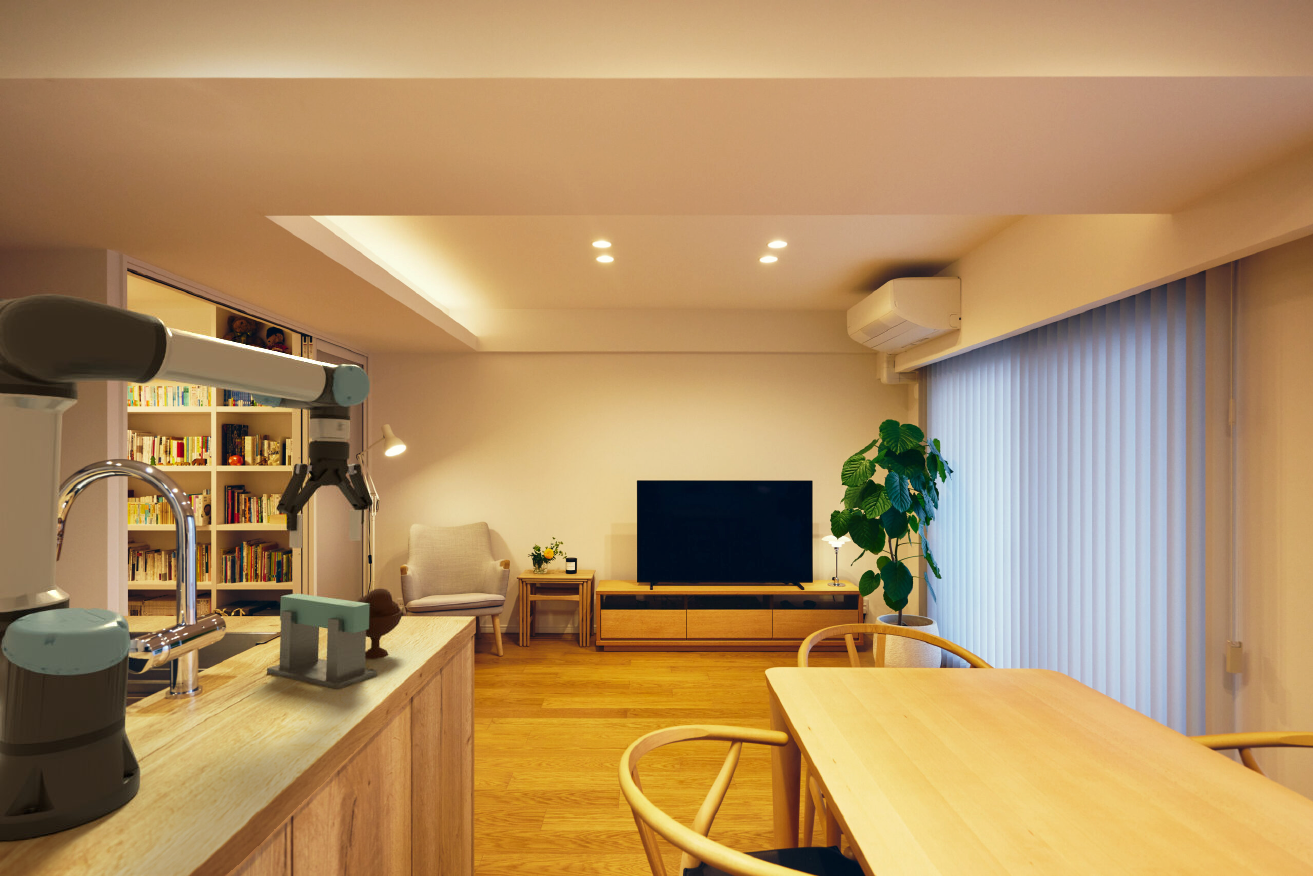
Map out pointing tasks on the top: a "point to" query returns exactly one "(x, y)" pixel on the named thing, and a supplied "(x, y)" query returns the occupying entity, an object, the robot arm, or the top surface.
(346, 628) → the rail
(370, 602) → the ice cream bowl
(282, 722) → the top surface
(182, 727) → the top surface
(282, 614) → the hook standards
